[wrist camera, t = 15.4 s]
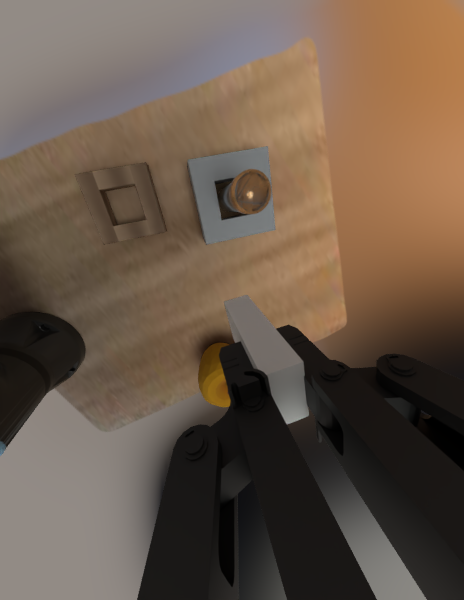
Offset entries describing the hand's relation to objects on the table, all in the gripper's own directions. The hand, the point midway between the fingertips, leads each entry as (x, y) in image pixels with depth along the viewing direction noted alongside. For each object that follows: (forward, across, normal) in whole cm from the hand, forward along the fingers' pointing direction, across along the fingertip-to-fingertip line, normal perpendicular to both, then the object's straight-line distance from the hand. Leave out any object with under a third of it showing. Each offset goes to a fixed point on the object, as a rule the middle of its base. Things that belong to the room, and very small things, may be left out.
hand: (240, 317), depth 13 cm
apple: (+30, -2, -24) cm, 38 cm away
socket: (+29, +8, +7) cm, 31 cm away
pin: (+29, +7, +7) cm, 31 cm away
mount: (+30, -9, +10) cm, 33 cm away
